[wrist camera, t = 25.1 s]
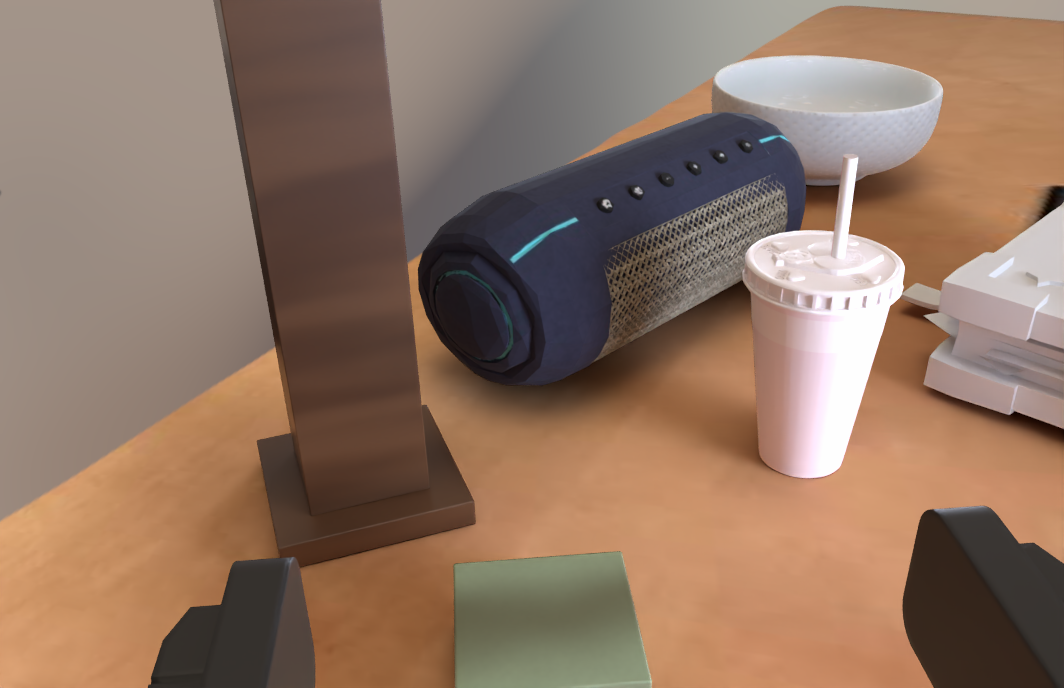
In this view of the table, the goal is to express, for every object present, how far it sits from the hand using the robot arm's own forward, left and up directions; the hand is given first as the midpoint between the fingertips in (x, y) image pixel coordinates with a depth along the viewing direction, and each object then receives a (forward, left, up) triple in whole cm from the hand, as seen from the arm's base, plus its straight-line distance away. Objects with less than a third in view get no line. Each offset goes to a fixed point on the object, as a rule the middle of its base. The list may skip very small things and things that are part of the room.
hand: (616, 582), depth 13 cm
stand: (+22, +14, -18) cm, 32 cm away
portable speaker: (+41, +6, -18) cm, 45 cm away
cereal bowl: (+68, -5, -18) cm, 71 cm away
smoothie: (+29, -4, -18) cm, 34 cm away
